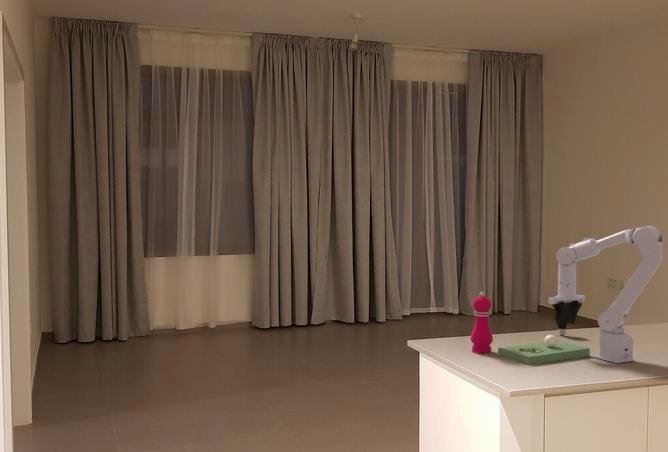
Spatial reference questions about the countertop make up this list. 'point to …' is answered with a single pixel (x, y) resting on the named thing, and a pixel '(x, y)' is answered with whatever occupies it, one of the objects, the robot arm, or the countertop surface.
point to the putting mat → (543, 352)
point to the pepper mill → (481, 325)
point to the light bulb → (560, 327)
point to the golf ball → (550, 341)
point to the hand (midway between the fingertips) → (566, 324)
